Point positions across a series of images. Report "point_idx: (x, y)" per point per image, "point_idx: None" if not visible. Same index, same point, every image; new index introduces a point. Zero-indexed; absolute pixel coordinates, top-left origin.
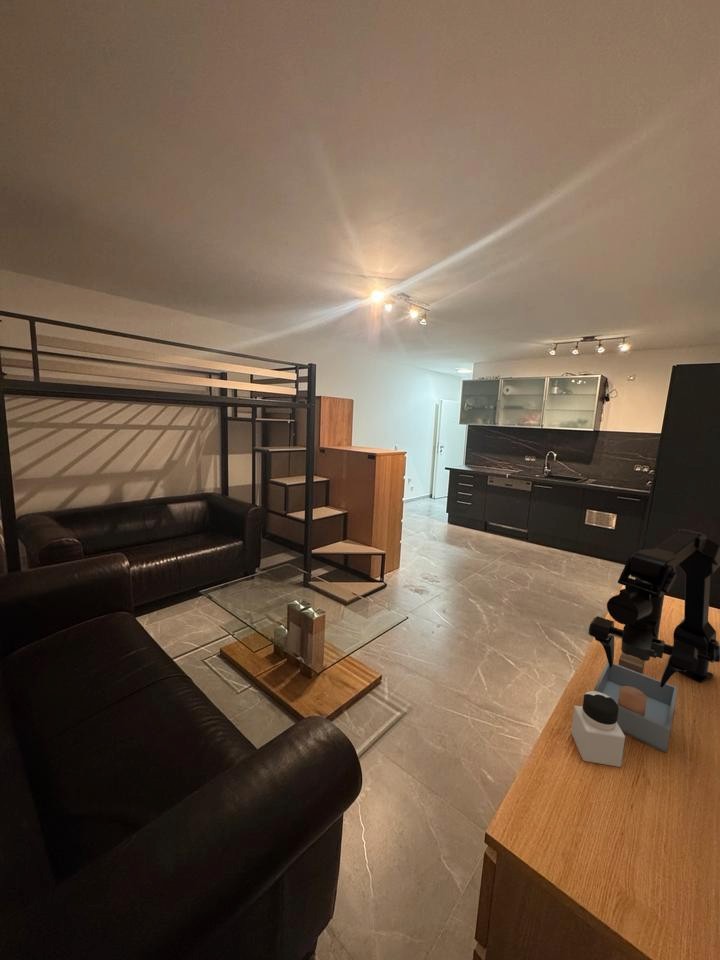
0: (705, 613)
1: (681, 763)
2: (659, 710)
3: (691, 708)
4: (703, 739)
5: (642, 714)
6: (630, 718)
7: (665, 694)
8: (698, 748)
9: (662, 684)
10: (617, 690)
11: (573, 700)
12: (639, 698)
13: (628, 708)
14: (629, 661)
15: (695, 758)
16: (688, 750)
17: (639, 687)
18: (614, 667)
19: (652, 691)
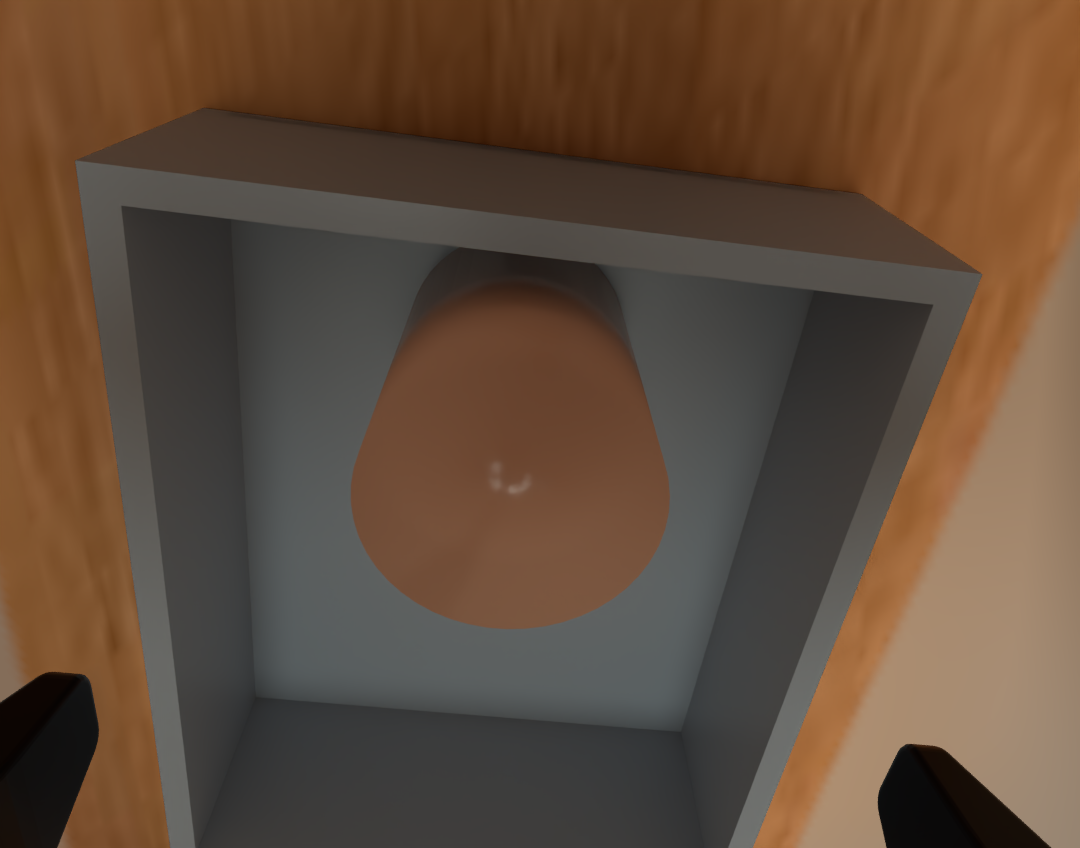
0: None
1: (77, 49)
2: (318, 608)
3: (152, 748)
4: (19, 483)
5: (402, 344)
6: (514, 196)
7: (280, 768)
8: (20, 355)
9: (10, 722)
10: (613, 659)
11: (981, 339)
12: (433, 458)
13: (544, 309)
14: None
15: (7, 209)
16: (72, 279)
17: (464, 755)
18: None
19: (373, 758)
